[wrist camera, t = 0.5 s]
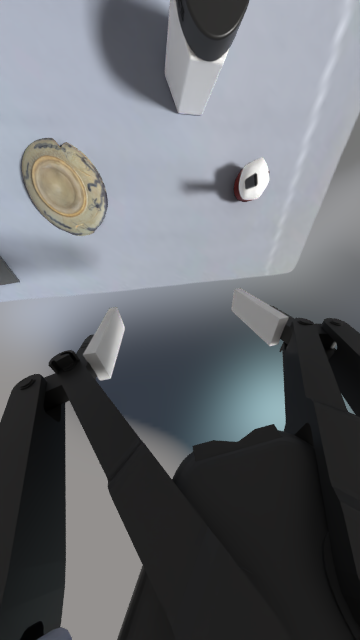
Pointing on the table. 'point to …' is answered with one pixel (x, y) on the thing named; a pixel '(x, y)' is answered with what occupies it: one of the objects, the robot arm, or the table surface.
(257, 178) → the toy boat
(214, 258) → the table surface
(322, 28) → the table surface
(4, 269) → the mat
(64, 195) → the decorative bowl
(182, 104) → the jar
